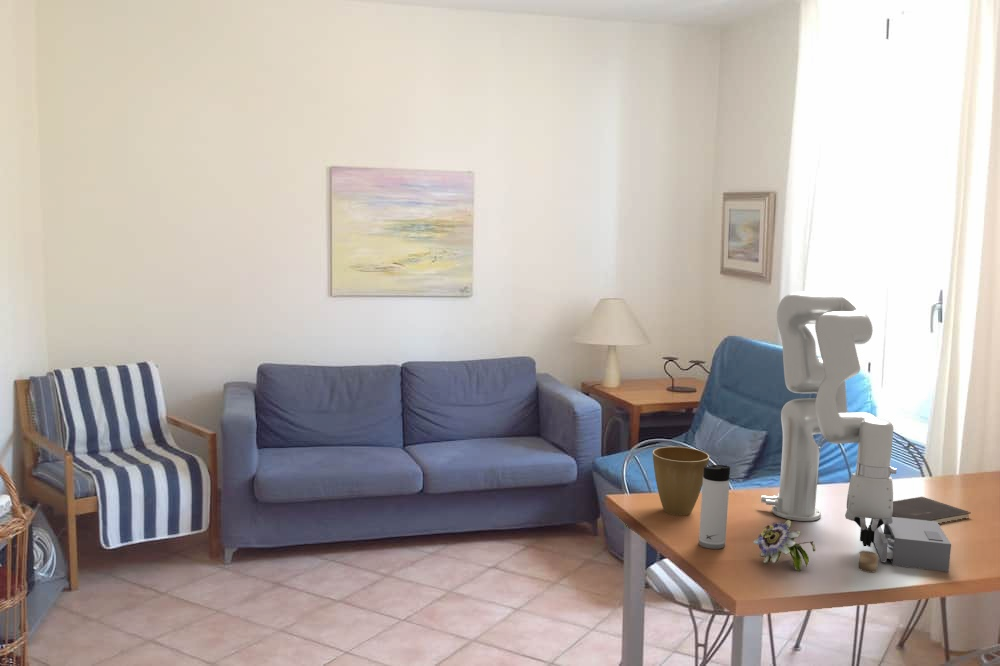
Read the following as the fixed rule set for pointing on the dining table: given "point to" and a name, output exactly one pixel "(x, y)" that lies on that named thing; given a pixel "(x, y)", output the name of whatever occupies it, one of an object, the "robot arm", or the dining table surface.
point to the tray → (882, 544)
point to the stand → (868, 561)
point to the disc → (890, 543)
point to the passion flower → (781, 544)
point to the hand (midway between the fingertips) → (866, 544)
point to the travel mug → (714, 506)
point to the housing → (919, 544)
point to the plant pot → (679, 477)
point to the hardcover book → (927, 510)
